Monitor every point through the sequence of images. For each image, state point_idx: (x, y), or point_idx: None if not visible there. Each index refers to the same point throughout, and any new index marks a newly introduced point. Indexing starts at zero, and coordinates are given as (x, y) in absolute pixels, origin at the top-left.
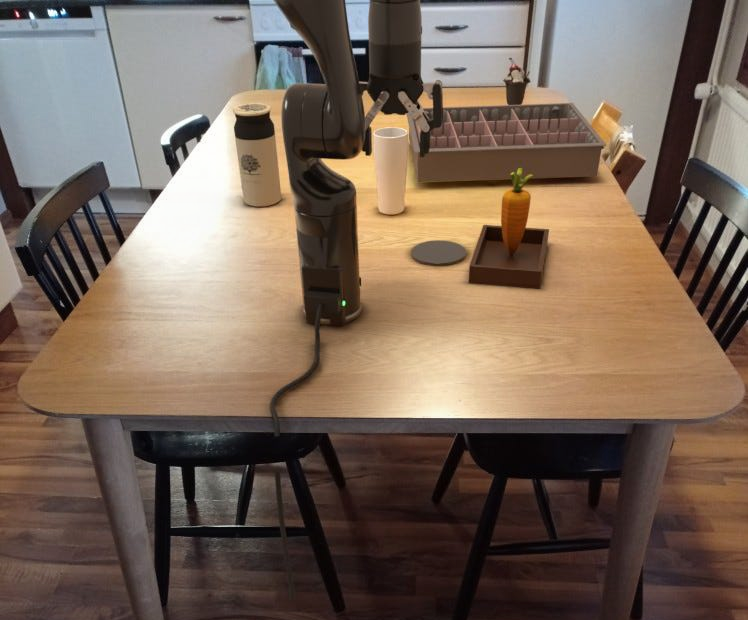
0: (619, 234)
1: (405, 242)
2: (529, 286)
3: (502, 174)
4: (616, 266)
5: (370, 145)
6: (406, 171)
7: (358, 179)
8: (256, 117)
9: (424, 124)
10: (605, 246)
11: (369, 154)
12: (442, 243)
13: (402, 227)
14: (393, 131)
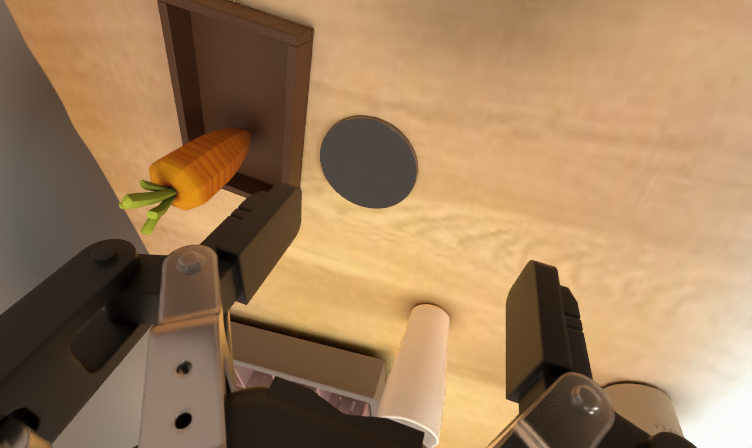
0: (125, 176)
1: (421, 219)
2: None
3: (278, 339)
4: (94, 70)
5: (521, 306)
6: (394, 359)
7: (462, 395)
8: None
9: (183, 279)
10: (130, 143)
11: (534, 261)
12: (359, 195)
13: (420, 266)
14: None
